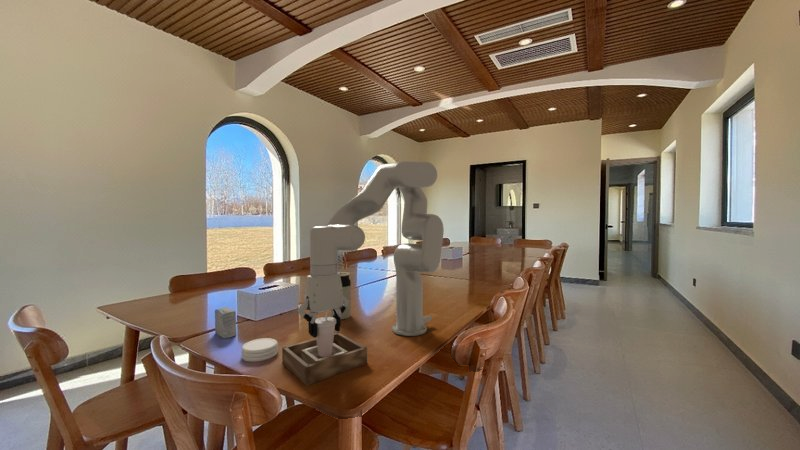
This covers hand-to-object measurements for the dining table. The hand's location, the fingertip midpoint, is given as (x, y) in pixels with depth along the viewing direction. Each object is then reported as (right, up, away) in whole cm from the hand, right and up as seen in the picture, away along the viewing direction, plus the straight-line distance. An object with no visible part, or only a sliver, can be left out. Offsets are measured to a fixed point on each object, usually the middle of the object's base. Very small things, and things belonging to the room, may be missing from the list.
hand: (324, 332), depth 91 cm
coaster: (-21, -9, +6) cm, 24 cm away
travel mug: (-3, -8, +42) cm, 43 cm away
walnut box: (0, -9, 0) cm, 9 cm away
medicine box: (-40, -8, +22) cm, 47 cm away
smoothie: (0, -6, 0) cm, 6 cm away
